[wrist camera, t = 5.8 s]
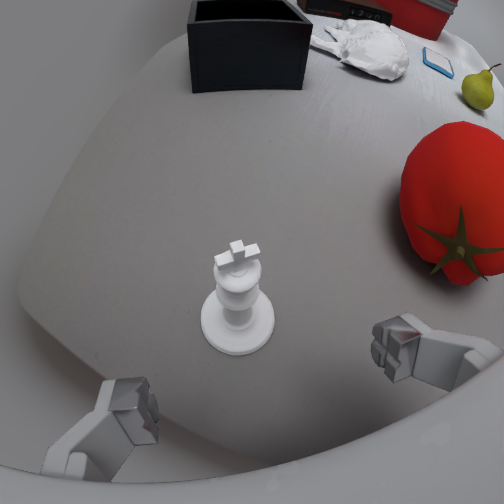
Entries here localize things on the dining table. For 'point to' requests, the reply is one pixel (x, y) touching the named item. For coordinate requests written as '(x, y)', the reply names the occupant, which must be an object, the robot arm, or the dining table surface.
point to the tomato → (456, 201)
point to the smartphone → (437, 62)
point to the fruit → (479, 89)
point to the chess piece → (237, 303)
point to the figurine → (367, 47)
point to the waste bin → (247, 45)
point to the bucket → (420, 15)
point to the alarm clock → (348, 10)
